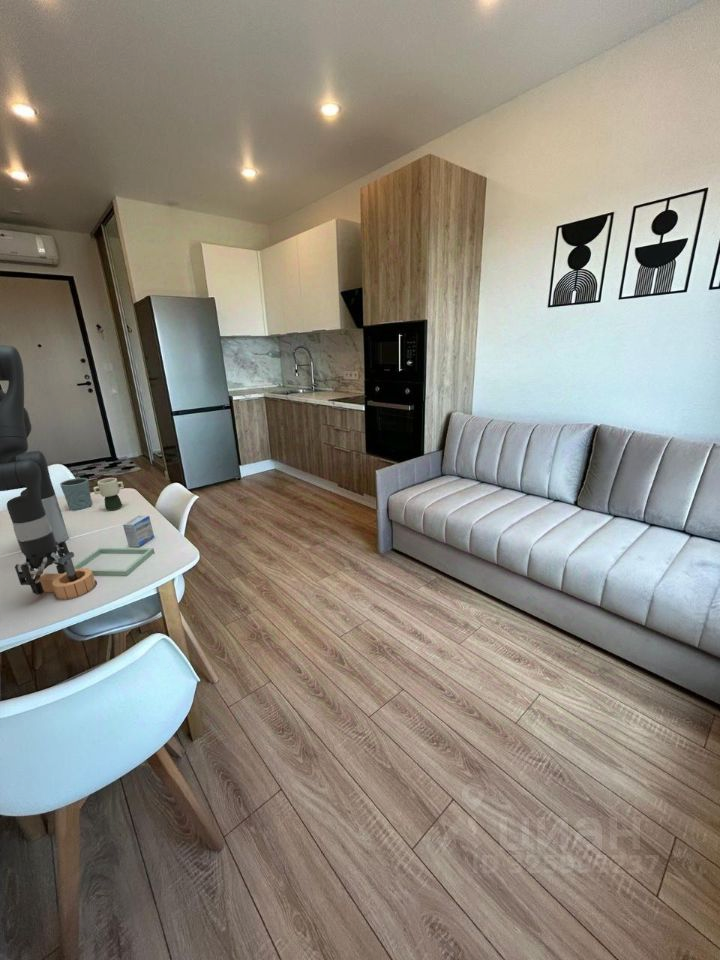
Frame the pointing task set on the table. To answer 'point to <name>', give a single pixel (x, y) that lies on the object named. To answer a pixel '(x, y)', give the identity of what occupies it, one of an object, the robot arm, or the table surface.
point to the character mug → (110, 492)
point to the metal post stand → (70, 571)
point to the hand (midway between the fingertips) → (52, 585)
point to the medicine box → (138, 531)
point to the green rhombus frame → (118, 572)
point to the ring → (68, 583)
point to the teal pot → (77, 493)
